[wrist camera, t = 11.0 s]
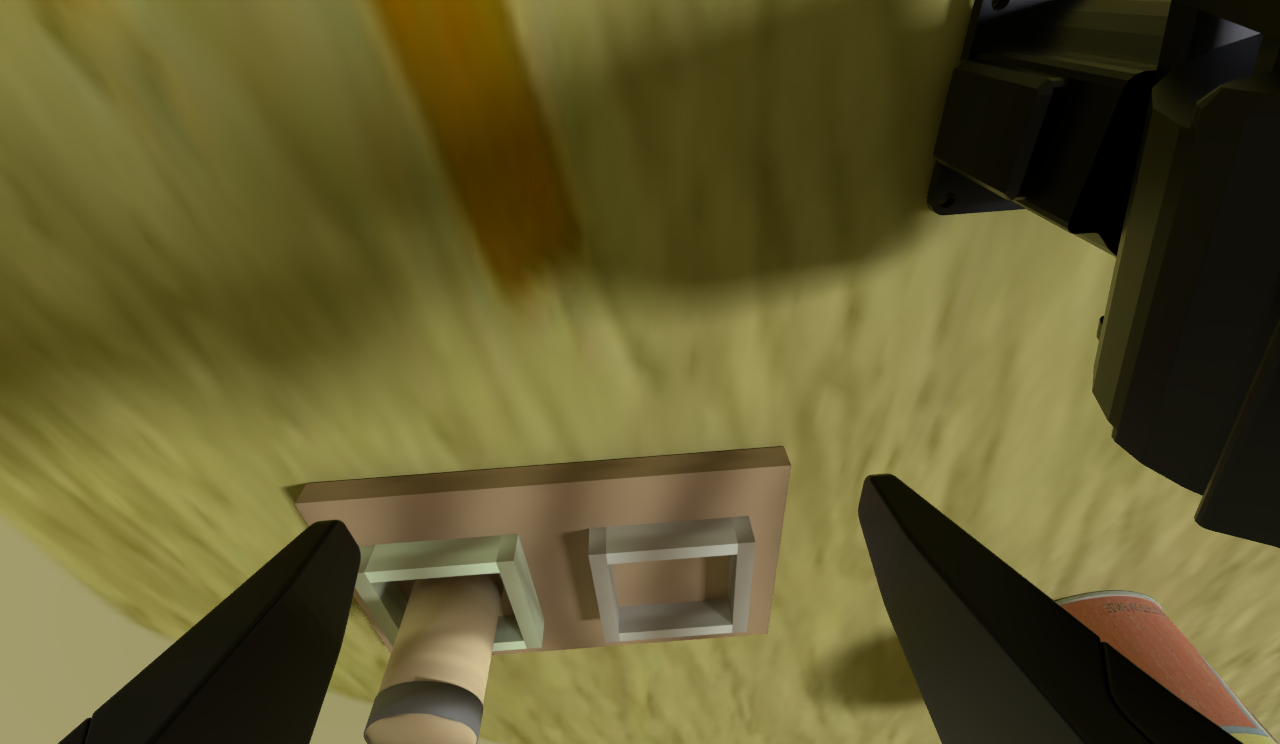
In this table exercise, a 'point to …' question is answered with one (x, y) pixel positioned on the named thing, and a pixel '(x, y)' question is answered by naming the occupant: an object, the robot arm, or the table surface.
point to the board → (577, 545)
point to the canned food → (1165, 657)
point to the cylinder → (439, 663)
